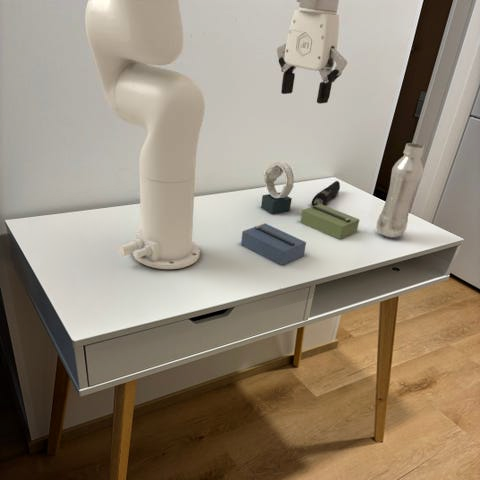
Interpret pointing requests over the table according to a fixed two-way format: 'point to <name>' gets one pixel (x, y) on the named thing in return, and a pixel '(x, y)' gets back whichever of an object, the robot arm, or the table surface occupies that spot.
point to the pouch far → (329, 221)
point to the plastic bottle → (401, 192)
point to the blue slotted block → (273, 243)
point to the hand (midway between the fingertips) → (303, 98)
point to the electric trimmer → (326, 194)
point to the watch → (275, 200)
